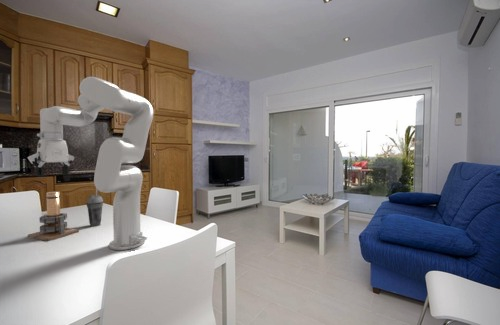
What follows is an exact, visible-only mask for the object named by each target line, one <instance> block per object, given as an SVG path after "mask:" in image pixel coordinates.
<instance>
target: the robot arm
mask: <svg viewBox="0 0 500 325" xmlns="http://www.w3.org/2000/svg"><path fill="white" fill-rule="evenodd" d="M79 92H80V95H78V99H77V102H78V105H79V107H80V108H81V109H75V108H69V107H64V106H59V105H53V106H51V107H44V108H41V109H40V111H39V117H40V118H39V121H40V122H39V124H40V125H39V126H40V131H39V133H36V137H39V138H40V139H39V140H38V142H37V149H36V153H34V154H32V155H29V156H27V159H28V161H29V162H30V164H31V165H32V166H33V167H34V168H35V174H36V177H39V178H40V177H41V178H42V177H44V167H43V165H45V164H46V163H53V164H54V163H60V164H61V165H62V166H61V170H62V174H61V175H62V176H63V175H64V176H69V172H70V170H69V168H70V166H71V164H72V163H73V161H74V160H75V156H73V155H71V154H70V153H69V150H68V144H67V141H66V140H64V126H70V127H71V126H72V127H78V128H79V127H85V126H87V125H89V124H91V123H93V122H94V121H96V119H97V117H98V114H99V112H101V111H103V110H105V109H106V110H108V111H111V112H115V113H120V114H125V115H129V116H131V118H129V119H128V120H127V122H126V123H125V125H124V127H123V133H122V137H114V136H113V137H109V138H106V139H105V140H104V141H103V142H102V143H101V144H100V147H99V150H98V154H97V159H96V165H95V169H94V177H93V184H94V187H95V188H97V191H99V192H101V193H104V194H105V193H107V194H108V193H109V194H110V193H115V195H114V197H113V200H112V201H113V202H112V206H113V207H112V208H113V209H112V210H113V211H112V212H113V213H112V214H113V215H112V217H113V219H112V220H113V222H112V223H113V240H112V241H110V242H109V244H108V246H109V249H110V250H115V251H125V250H130V249H135V248H138V247H140V246H142V245H143V244H144V243H145V242H146V240H147V239H148V237H147V236H144V235H143V231H141V191H142V186H143V182H144V181H143V180H144V179H143V176H144V175H143V173H142V170H141V169H140V168H138V167H137V166H135V165H132V164H135V163H139V162H140V161H142V160H143V157H144V155H145V151H146V146H147V141H148V138H149V131H150V128H151V125H152V122H153V119H154V108H153V106H152V104H151V103H150V101H149V100H148V99H146V98H145V97H144V96H141V95H139V94H137V93H133V92H131V91H127V90H124V89H121V88H120V87H119V86H118V85H116V84H114V83H113V82H110V81H108V80H105V79H103V78H99V77H95V76H88V77H85V78H83V79H82V81H80V84H79ZM35 159H36V160H37V161H36V160H35ZM124 164H126V165H124ZM127 164H131V165H127Z"/></svg>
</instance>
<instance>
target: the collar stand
mask: <svg viewBox="0 0 500 325" xmlns="http://www.w3.org/2000/svg"><path fill="white" fill-rule="evenodd" d="M67 219H68V214H67V213H65V212H60V216H58V217H51V218H47V213H46V214H43V215H42V216H40V217H39V223H41V225H40V226H39V231H37V232H33V233H29V234H27V238H30V237H31V239H36V240H42V241H46V242H51V241H53V240H57V239H61V238H63V237H64V238H65V237H66V236H67V237H68V236H70V235H74V234H77V233H79V232H80V230H79V229H75V228H70V227H68V222H67V221H66V220H67ZM53 222H59V225H58V226H52V227H47V223H53ZM55 231H59V233H55V234H47V232H55Z"/></svg>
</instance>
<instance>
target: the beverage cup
mask: <svg viewBox="0 0 500 325" xmlns="http://www.w3.org/2000/svg"><path fill="white" fill-rule="evenodd" d="M95 188H96V187H95ZM85 205H86V207H87V215H88V223H89V227H91V228H93V227H99V226H101V225H102V224H101V223H102V214H103V205H104V198H103V197H102V196H101V195H99V194H98V189H97V188H96V189H95V194H92V195H89V197H88V198H87V200H86V203H85Z"/></svg>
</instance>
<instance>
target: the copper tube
mask: <svg viewBox="0 0 500 325" xmlns="http://www.w3.org/2000/svg"><path fill="white" fill-rule="evenodd" d="M45 195H46V214H47V218H51V217H58V216H60V213H61V192H60V191H49V192H48V191H47V192H46V194H45ZM58 225H59V222H53V223H47V227H52V226H58ZM55 233H59V231H55V232H47V234H55Z"/></svg>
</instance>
